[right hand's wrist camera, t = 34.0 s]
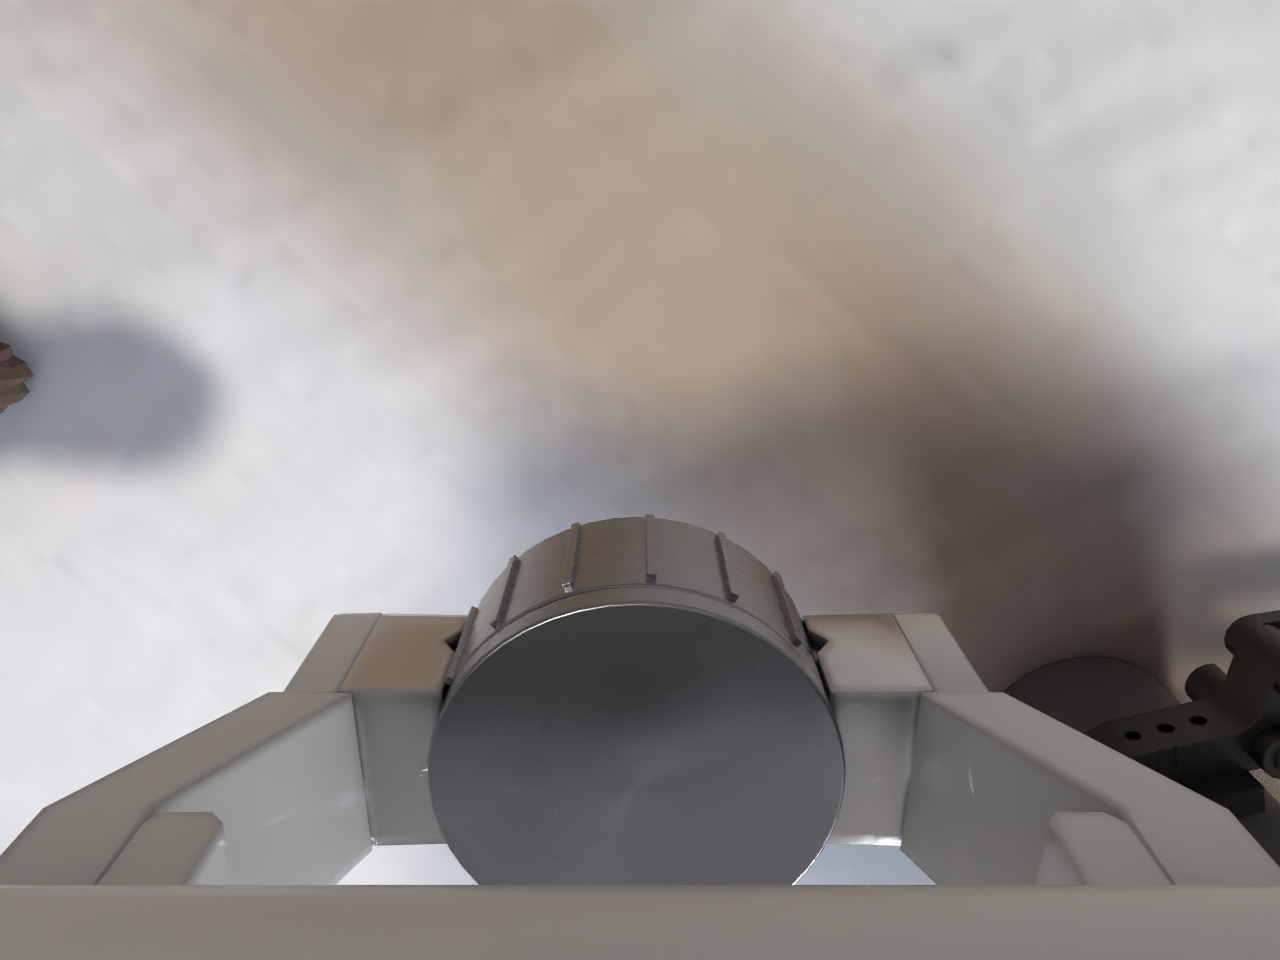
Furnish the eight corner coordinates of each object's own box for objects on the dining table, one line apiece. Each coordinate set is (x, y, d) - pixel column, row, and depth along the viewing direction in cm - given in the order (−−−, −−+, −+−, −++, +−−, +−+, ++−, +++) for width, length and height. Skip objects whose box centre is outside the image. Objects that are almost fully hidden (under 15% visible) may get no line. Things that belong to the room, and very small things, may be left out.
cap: (869, 727, 10) (918, 849, 8) (578, 860, 11) (565, 999, 9) (708, 447, 9) (725, 520, 7) (392, 616, 10) (336, 721, 8)
